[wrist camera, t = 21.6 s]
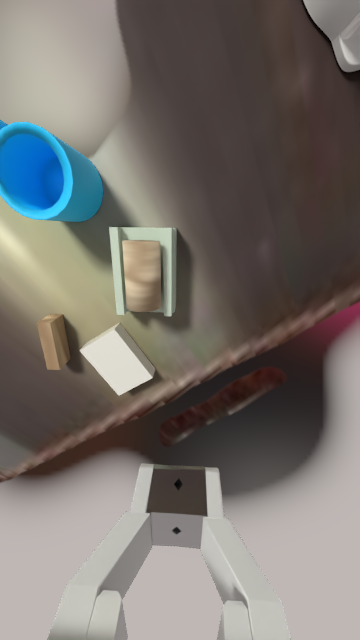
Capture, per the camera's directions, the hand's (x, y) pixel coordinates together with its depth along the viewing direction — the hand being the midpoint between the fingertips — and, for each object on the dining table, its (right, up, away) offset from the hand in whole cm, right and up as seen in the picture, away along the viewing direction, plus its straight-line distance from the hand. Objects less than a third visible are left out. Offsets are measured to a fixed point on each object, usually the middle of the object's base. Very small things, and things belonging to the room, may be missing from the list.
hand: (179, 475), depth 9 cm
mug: (-15, +25, +21) cm, 36 cm away
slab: (-10, 0, +30) cm, 32 cm away
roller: (-5, +12, +21) cm, 25 cm away
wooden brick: (-20, +3, +29) cm, 35 cm away
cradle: (-5, +13, +24) cm, 28 cm away
